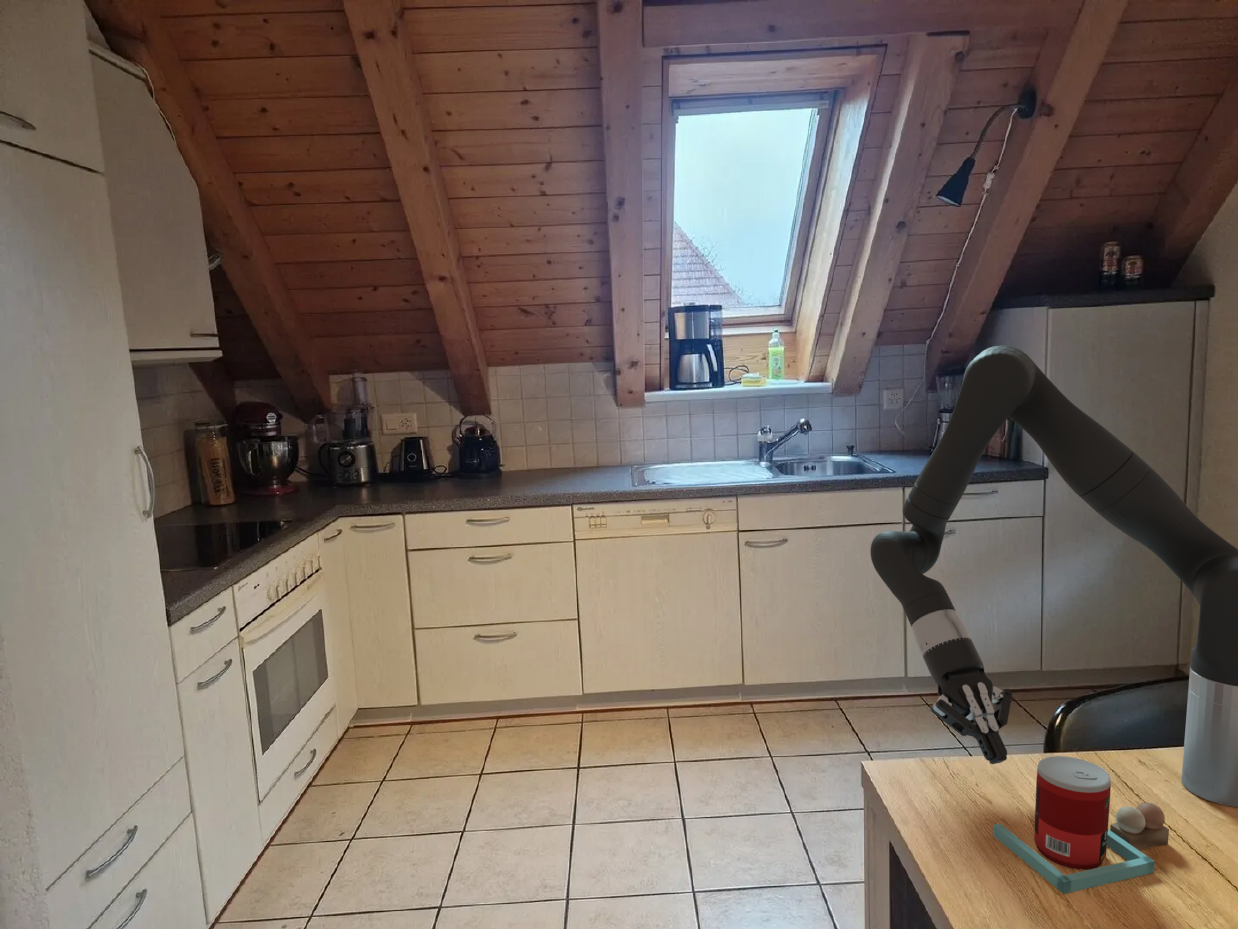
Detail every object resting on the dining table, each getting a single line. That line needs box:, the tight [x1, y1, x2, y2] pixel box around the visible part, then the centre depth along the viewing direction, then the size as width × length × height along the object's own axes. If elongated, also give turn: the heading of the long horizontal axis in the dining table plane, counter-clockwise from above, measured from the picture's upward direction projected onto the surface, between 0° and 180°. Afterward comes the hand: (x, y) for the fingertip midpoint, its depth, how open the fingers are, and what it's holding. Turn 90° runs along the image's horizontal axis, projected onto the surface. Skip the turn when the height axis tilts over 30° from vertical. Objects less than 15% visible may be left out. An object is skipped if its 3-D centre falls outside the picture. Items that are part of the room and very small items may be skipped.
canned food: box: [1033, 755, 1112, 871], centre depth 103 cm, size 8×8×11 cm
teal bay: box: [992, 822, 1156, 895], centre depth 103 cm, size 13×12×2 cm
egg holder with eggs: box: [1109, 801, 1170, 851], centre depth 105 cm, size 6×3×5 cm, turn 104°
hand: (999, 761), depth 115 cm, fingers closed
